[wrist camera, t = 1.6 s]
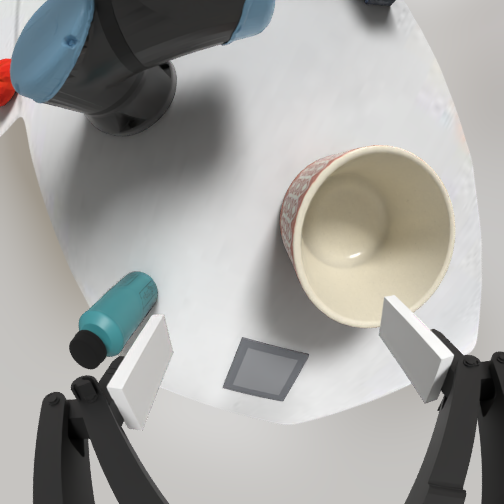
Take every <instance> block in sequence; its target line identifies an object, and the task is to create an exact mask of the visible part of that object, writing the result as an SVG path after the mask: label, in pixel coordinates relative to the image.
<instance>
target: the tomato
mask: <svg viewBox="0 0 504 504" xmlns="http://www.w3.org/2000/svg"><path fill="white" fill-rule="evenodd" d="M10 64H11V59H2V60H0V107H1V106H3V105H5V104H6V103H7V102H8V101H9V100H10V99H11V98H12V96H13V95H14V93H15V89H14V87H13V85H12V83H11V78H10Z"/></svg>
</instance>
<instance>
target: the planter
mask: <svg viewBox="0 0 504 504" xmlns="http://www.w3.org/2000/svg"><path fill="white" fill-rule="evenodd" d="M280 230H281V236H282V240H283V244H284V246H285V249H286V251H287V253H288V256H289V258H290V260H291V263H292V265H293V267H294V270H295V272H296V274H297V277H298V279H299V281H300V284H301V286H302V288H303V290H304V291H305V293H306V295H307V296H308V298H309V299H310V301H311V302H312V303H313V304H314V305H315V306H316V307H317V308H318V309H319V310H320V311H321V312H322V313H324V314H325V315H326V316H328V317H329V318H331V319H333V320H335V321H337V322H339V323H341V324H344V325H348V326H351V327H358V328H377V327H380V324H381V317H382V309H383V301H384V297H385V296H392V295H395V296H396V297H397V298H398V299H399V300H400V301H401V302H402V303H403V304H404V305H405V306H407V307H408V308H409V309H410V310H411V311H412V312H415V311H416V310H418V309H419V308H420V307H421V306H422V305H423V304H424V303H425V302H426V301H427V300H428V299H429V298H430V297H431V296H432V294H433V293H434V292H435V291H436V289H437V288H438V286H439V285H440V283H441V281H442V280H443V278H444V276H445V274H446V271H447V269H448V267H449V264H450V261H451V257H452V254H453V248H454V243H455V218H454V212H453V207H452V203H451V200H450V197H449V195H448V192H447V190H446V188H445V186H444V184H443V182H442V181H441V179H440V178H439V176H438V175H437V174H436V173H435V171H434V170H433V169H432V168H431V167H430V166H429V165H428V164H427V163H426V162H425V161H423V160H422V159H421V158H419V157H417V156H416V155H414V154H413V153H411V152H408V151H406V150H403V149H401V148H397V147H392V146H384V145H373V146H367V147H361V148H357V149H353V150H349V151H346V152H342V153H338V154H334V155H331V156H327V157H324V158H322V159H319V160H317V161H315V162H313V163H312V164H310V165H309V166H307V167H306V168H305V169H304V170H303V171H301V172H300V173H299V174H298V176H297V177H296V178H295V179H294V180H293V182H292V183H291V185H290V187H289V188H288V190H287V192H286V195H285V197H284V200H283V203H282V208H281V213H280Z"/></svg>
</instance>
